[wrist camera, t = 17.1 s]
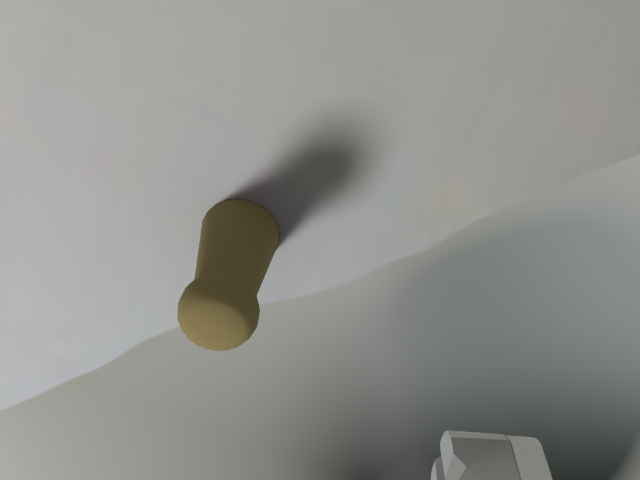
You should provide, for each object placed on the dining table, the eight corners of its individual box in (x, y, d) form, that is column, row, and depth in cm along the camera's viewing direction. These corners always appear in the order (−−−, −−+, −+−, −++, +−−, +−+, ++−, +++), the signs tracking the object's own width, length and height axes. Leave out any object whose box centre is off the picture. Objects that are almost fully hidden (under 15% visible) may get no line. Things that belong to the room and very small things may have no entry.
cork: (228, 184, 43) (197, 276, 34) (295, 228, 45) (281, 326, 36) (187, 237, 46) (147, 335, 37) (251, 276, 48) (228, 378, 38)
